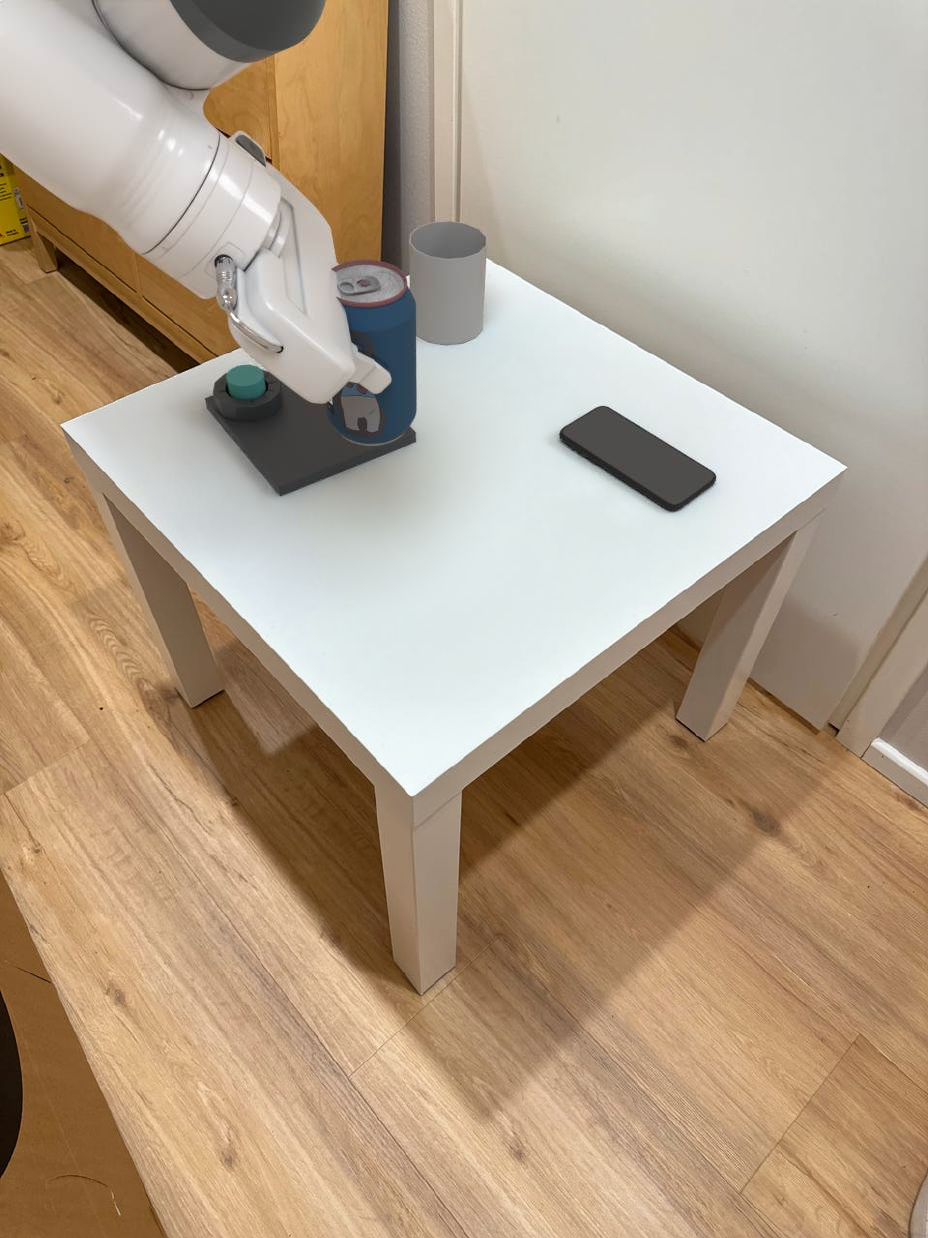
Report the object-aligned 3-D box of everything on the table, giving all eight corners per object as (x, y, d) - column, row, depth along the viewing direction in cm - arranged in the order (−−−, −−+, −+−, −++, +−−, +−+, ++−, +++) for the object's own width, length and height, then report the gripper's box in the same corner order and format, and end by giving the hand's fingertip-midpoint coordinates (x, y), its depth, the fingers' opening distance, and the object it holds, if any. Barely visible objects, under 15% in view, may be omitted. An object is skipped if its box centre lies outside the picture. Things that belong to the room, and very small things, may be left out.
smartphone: (675, 510, 84) (554, 431, 90) (673, 517, 84) (553, 438, 91) (722, 474, 87) (602, 401, 94) (719, 482, 88) (601, 408, 94)
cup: (399, 312, 105) (397, 228, 98) (463, 298, 108) (466, 215, 100) (428, 351, 100) (428, 265, 93) (495, 335, 103) (500, 250, 95)
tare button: (238, 405, 89) (236, 389, 87) (222, 386, 91) (219, 371, 89) (272, 393, 90) (270, 378, 89) (255, 375, 92) (253, 360, 91)
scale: (280, 496, 84) (276, 471, 82) (205, 406, 93) (200, 381, 90) (416, 441, 90) (416, 416, 88) (334, 361, 99) (332, 337, 96)
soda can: (398, 389, 74) (395, 248, 65) (429, 439, 70) (431, 296, 61) (316, 407, 72) (301, 264, 63) (344, 460, 68) (332, 315, 59)
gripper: (253, 272, 49) (429, 406, 58) (243, 119, 62) (389, 248, 71) (185, 350, 52) (363, 467, 61) (189, 188, 65) (335, 304, 74)
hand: (377, 348), depth 66 cm, fingers closed on soda can, 7 cm apart
